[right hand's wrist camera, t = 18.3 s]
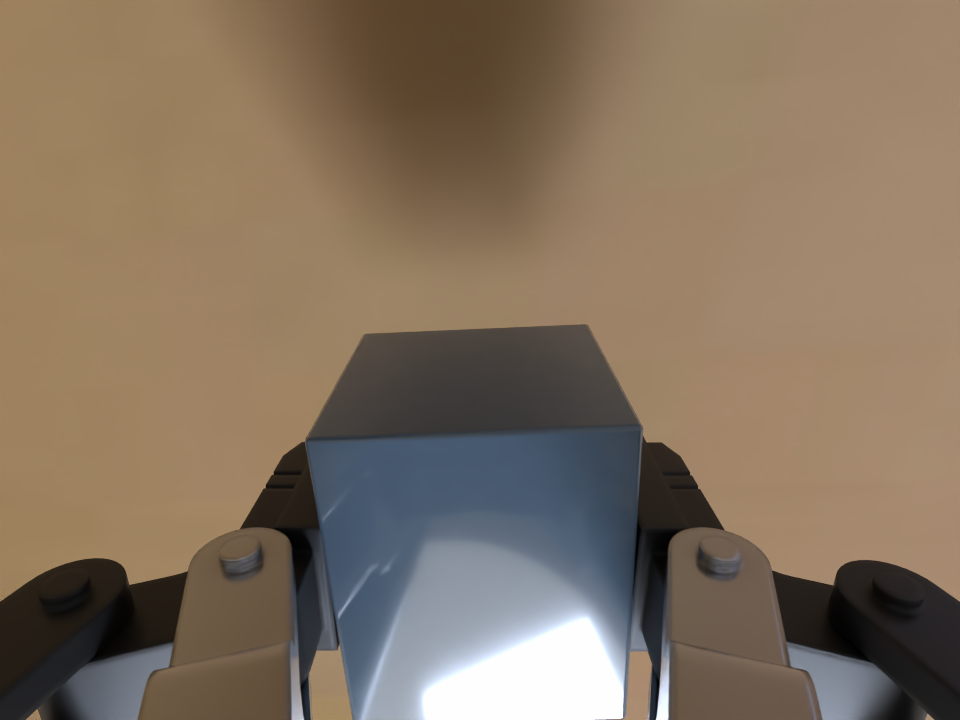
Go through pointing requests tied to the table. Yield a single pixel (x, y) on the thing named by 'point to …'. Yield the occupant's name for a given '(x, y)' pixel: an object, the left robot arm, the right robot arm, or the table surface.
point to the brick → (480, 524)
